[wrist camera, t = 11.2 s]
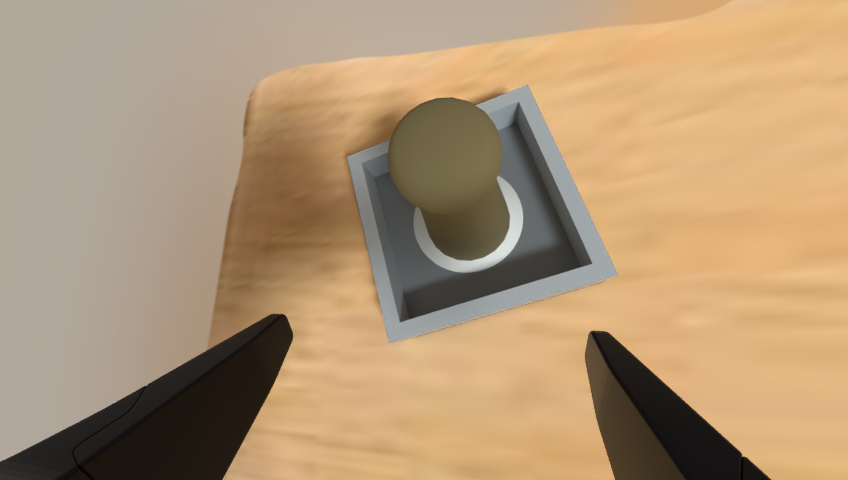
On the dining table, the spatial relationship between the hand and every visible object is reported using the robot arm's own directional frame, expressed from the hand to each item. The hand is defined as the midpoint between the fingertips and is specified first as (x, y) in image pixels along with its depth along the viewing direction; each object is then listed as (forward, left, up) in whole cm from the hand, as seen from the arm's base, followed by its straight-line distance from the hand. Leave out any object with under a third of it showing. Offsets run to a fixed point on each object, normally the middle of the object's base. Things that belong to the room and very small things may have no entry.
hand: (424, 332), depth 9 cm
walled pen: (+7, -2, -13) cm, 16 cm away
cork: (+7, -2, -13) cm, 15 cm away
